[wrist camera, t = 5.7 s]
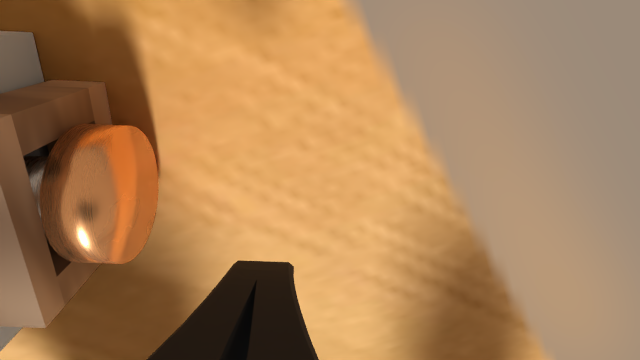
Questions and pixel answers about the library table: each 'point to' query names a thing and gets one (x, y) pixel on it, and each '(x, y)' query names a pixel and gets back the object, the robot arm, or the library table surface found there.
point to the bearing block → (10, 74)
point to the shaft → (96, 192)
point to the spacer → (19, 203)
